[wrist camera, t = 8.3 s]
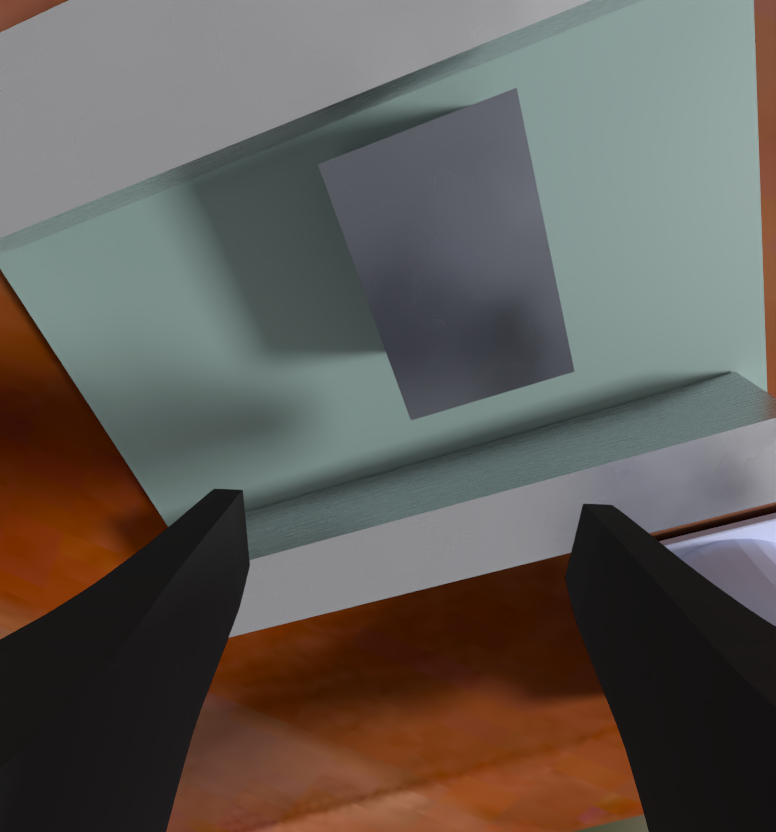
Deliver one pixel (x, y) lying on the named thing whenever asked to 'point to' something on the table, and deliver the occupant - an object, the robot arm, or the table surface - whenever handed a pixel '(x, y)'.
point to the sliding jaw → (510, 501)
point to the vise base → (320, 230)
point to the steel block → (454, 255)
